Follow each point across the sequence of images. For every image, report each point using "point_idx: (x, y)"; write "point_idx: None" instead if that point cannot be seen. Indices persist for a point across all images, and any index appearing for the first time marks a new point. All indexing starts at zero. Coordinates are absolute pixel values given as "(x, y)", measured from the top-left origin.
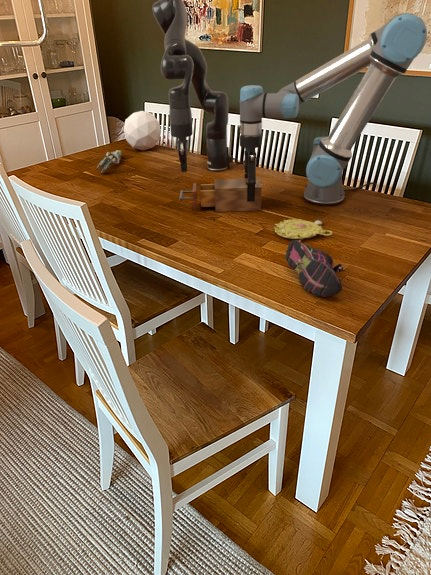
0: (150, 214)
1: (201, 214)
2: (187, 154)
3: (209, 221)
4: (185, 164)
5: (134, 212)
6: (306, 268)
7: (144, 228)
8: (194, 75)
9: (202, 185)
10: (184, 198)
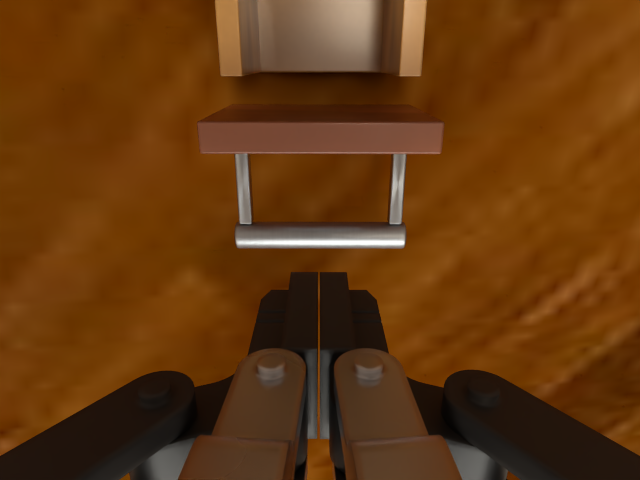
0: None
1: (451, 69)
2: (442, 442)
3: (589, 8)
4: (384, 342)
5: None
6: None
7: (572, 380)
8: None
9: (241, 53)
10: (401, 211)
